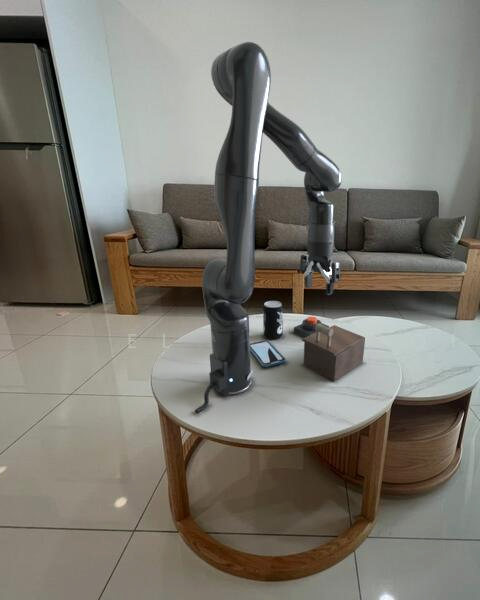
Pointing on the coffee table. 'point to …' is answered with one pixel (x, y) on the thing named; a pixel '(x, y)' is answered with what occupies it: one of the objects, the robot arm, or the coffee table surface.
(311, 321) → the button
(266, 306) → the beverage can
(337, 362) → the keepsake box
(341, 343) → the lid
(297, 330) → the button base
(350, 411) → the coffee table surface
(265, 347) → the smartphone
